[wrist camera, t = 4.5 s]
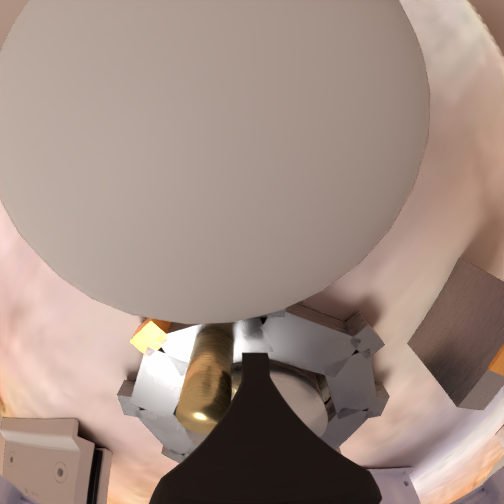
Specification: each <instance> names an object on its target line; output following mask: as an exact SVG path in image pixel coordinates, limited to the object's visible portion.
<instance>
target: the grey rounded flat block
mask: <svg viewBox="0 0 504 504" xmlns="http://www.w3.org/2000/svg"><path fill="white" fill-rule="evenodd" d="M78 425H79V421H78V420H76V419H75V418H63V419H20V418H2V422H1V426H0V431H1V433H2V435H3V437H4V438H5V449H4V461H3V477H5V478H6V479H8V480H9V481H10V482H12V483H13V484H14V485H15V486H16V487H18V488H19V489H20V490H21V491H22V493H24V494H25V495H27V496H29V497H30V498H32V499H34V500H36V501H38V502H39V503H41V504H107V493H108V484H109V476H110V468H111V461H112V455H113V454H112V453H111V451H109V450H108V449H105V448H95V447H94V445H95V443H92V442H90V441H87V440H85V439H83V438H81V437H78V436H77V433H78Z"/></svg>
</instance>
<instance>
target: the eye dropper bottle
mask: <svg viewBox="0 0 504 504" xmlns="http://www.w3.org/2000/svg"><path fill="white" fill-rule="evenodd" d="M495 437H496V439H497V440H498V441H499V443H500V444H501V446H502V447H503V449H504V425H503V427H502V428H501V429H500V430H499V431H498V432H497V433H496V435H495Z"/></svg>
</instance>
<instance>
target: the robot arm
mask: <svg viewBox="0 0 504 504" xmlns="http://www.w3.org/2000/svg"><path fill="white" fill-rule="evenodd" d="M412 471H413V467H408V468H392V469H365V468H363V467H361V466H359V465H358V464H356V463H354V462H352V461H351V460H349V459H348V458H346V457H344V456H343V455H342V454H340V453H339V452H337V451H336V450H334V449H333V448H332V447H331V446H329V445H328V444H327V443H326V442H324V441H323V440H322V439H321V438H320V437H318V436H317V435H316V434H315V433H314V432H313V431H312V430H311V429H310V428H309V427H308V426H307V425H306V424H305V423H304V422H303V421H302V420H301V419H300V418H299V417H298V416H297V415H296V413H295V412H294V411H293V410H292V409H291V407H290V406H289V405H288V403H287V402H286V401H285V399H284V398H283V396H282V395H281V393H280V392H279V390H278V389H277V387H276V386H275V384H274V382H273V381H272V379H271V377H270V361H269V357H268V353H244V352H242V381H241V383H240V385H239V388H238V390H237V392H236V394H235V396H234V398H233V399H232V401H231V403H230V405H229V407H228V408H227V410H226V412H225V413H224V415H223V416H222V418H221V419H220V420H219V422H218V423H217V425H216V426H215V427H214V428H213V430H212V431H211V432H210V433H209V435H208V436H207V437H206V438H205V439H204V441H203V442H202V443H201V444H200V445H199V446H198V447H197V448H196V449H195V450H194V451H193V452H192V453H191V454H190V455H189V456H188V457H187V458H186V459H185V460H183V461H182V462H181V463H180V464H179V465H177V466H176V467H175V468H174V469H172V470H171V471H170V472H168V473H167V474H166V475H165V476H163V477H162V478H161V480H160V481H159V483H158V485H157V486H156V488H155V490H154V492H153V494H152V497H151V499H150V502H149V504H421V503H420V500H419V498H418V496H417V493H416V491H415V489H414V486H413V484H412V482H411V479H410V477H409V475H408V474H410V473H411V472H412ZM0 504H41V503H39V502H38V501H36V500H34V499H32V498H30V497H29V496H27V495H25V494H24V493H22V491H21V490H20V489H19V488H18V487H16V486H15V485H14V484H13V483H12V482H10V481H9V480H8V479H6V478H5V477H3V476H2V475H0ZM451 504H504V466H503V467H502V468H501V469H499V470H498V471H496V472H495V473H494V474H493V475H492V476H490V477H489V478H488V479H487V480H486V481H485V482H484V483H483V485H481V486H480V487H478V488H476V489H475V490H473V491H472V492H470V493H468V494H467V495H465V496H463V497H461V498H460V499H458V500H456V501H454V502H452V503H451Z"/></svg>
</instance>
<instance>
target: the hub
mask: <svg viewBox="0 0 504 504" xmlns="http://www.w3.org/2000/svg"><path fill="white" fill-rule="evenodd" d="M269 361H270V377H271V379H272V381H273V382H274V384H275V386H276V387H277V389H278V390H279V392H280V393H281V395H282V396H283V398H284V399H285V401H286V402H287V403H288V405H289V406H290V407H291V409H292V410H293V411H294V412H295V413H296V415H297V416H298V417H299V418H300V419H301V420H302V421H303V422H304V423H305V424H306V425H307V426H308V427H309V428H310V429H311V430H312V431H313V432H314V433H315V434H316V435H317V436H318V437H320V438H321V437H322V435H323V434H324V432H325V430H326V427H327V424H328V416H327V411H326V408H325V405H324V402H323V398H322V395H321V392H320V389H319V386H318V383H317V380H316V377H315V376H314V374H313V372H312V371H309V370H305V369H302V368H298V367H295V366H292V365H289V364H285V363H282V362H279V361H276V360H273V359H270V358H269ZM241 381H242V361H240V362H237V363H233V378H232V398H231V401H232V399H233V398H234V396H235V394H236V392H237V390H238V388H239V385H240V383H241ZM185 429H186V428H185ZM186 433H187V435H188V437H189V438H190V440H191V441H192V442H193V443H194V444H195V445H196V446H197V447H198V446H199V445H200V444H201V443H202V442H203V441H204V439H205V438H206V437H207V436H208V435H209V434H201V433H196V432H193V431H190V430H188V429H186Z"/></svg>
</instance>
